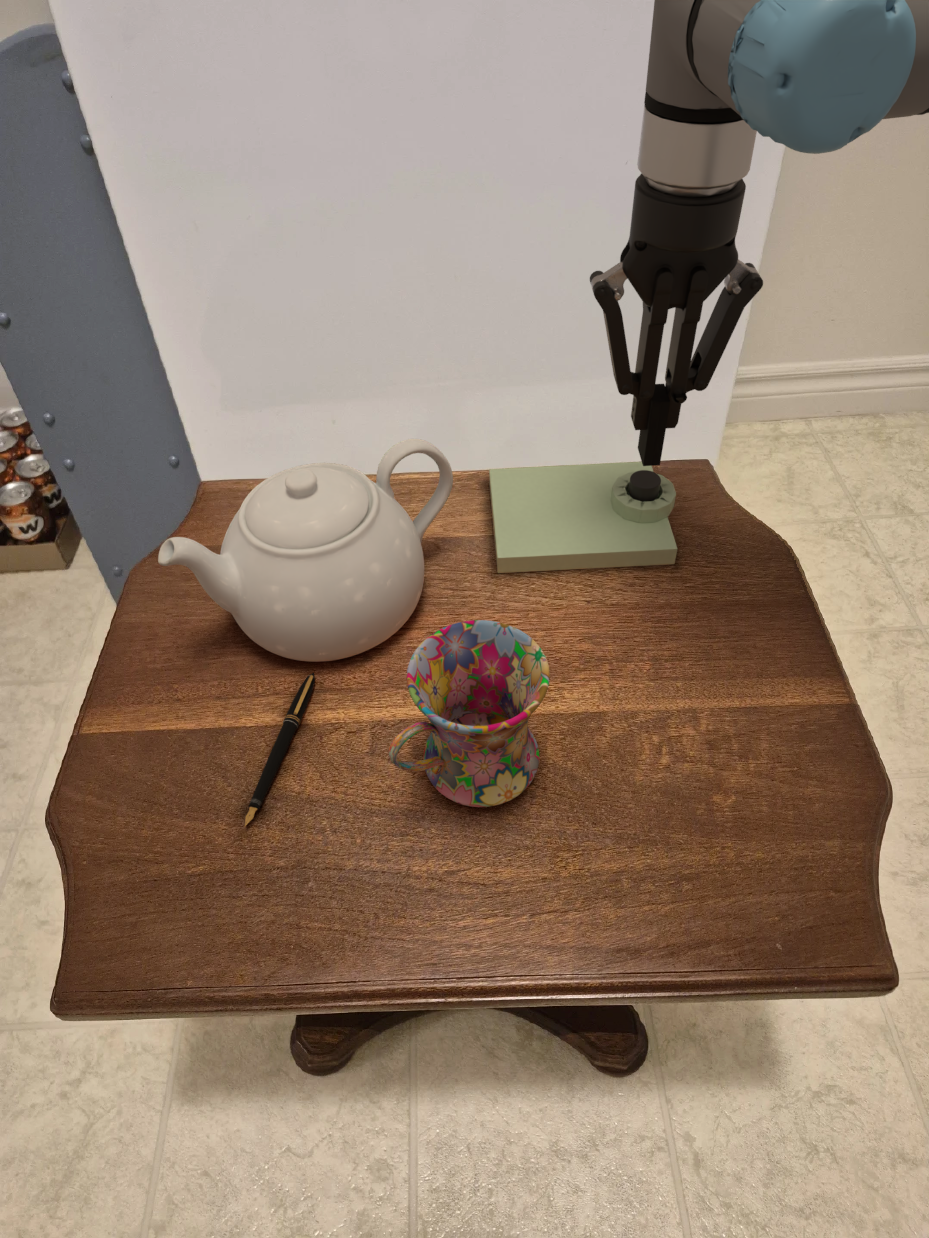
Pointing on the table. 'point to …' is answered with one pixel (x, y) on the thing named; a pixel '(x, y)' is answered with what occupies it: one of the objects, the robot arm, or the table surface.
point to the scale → (578, 518)
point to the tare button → (644, 485)
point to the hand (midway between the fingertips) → (648, 456)
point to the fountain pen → (281, 744)
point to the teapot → (320, 558)
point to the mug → (476, 710)
